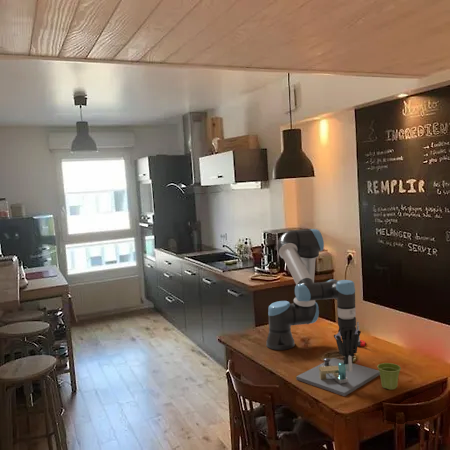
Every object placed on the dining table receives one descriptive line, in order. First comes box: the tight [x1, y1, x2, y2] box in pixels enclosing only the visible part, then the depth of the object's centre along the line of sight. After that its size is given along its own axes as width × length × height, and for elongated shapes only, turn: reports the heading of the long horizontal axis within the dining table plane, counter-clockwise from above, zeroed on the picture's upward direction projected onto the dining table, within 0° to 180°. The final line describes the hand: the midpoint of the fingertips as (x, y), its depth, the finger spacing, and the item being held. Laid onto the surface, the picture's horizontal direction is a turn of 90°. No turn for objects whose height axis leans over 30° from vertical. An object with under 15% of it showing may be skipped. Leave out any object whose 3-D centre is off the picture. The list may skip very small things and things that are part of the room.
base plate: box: [295, 357, 380, 397], centre depth 213 cm, size 25×29×2 cm
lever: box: [320, 357, 348, 384], centre depth 211 cm, size 19×5×8 cm, turn 13°
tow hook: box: [356, 321, 366, 347], centre depth 254 cm, size 8×13×9 cm
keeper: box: [318, 366, 338, 380], centre depth 209 cm, size 5×8×4 cm, turn 93°
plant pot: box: [376, 362, 402, 390], centre depth 201 cm, size 9×9×9 cm
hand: (348, 370), depth 204 cm, fingers closed
